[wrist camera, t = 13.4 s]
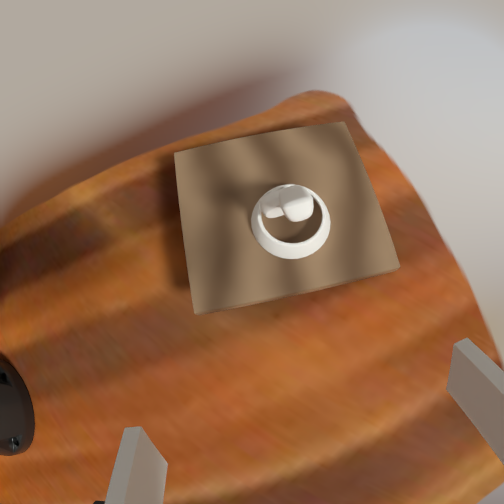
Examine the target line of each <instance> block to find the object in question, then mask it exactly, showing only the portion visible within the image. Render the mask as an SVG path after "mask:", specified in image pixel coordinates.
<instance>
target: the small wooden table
mask: <svg viewBox="0 0 504 504" xmlns="http://www.w3.org/2000/svg"><path fill="white" fill-rule="evenodd" d="M174 158H175V169H176V179H177V189H178V198H179V207H180V216H181V224H182V232H183V240H184V248H185V255H186V262H187V269H188V276H189V283H190V289H191V296H192V302H193V308H194V313H195V314H196V315H203V314H208V313H213V312H218V311H224V310H229V309H234V308H239V307H244V306H249V305H253V304H258V303H263V302H268V301H272V300H277V299H282V298H286V297H291V296H295V295H300V294H304V293H308V292H313V291H317V290H321V289H325V288H330V287H334V286H338V285H342V284H346V283H350V282H354V281H358V280H362V279H366V278H370V277H374V276H378V275H382V274H386V273H390V272H393V271H396V270H397V269H399V268H400V264H399V261H398V258H397V254H396V251H395V248H394V245H393V242H392V239H391V236H390V233H389V230H388V227H387V224H386V222H385V219H384V216H383V213H382V211H381V208H380V205H379V202H378V200H377V197H376V195H375V192H374V189H373V187H372V184H371V182H370V179H369V177H368V174H367V172H366V170H365V167H364V165H363V162H362V160H361V158H360V155H359V153H358V151H357V148H356V146H355V144H354V142H353V139H352V137H351V135H350V133H349V131H348V129H347V126H346V124H345V122H336V123H328V124H320V125H313V126H306V127H299V128H293V129H286V130H280V131H274V132H269V133H263V134H258V135H252V136H247V137H242V138H237V139H232V140H227V141H223V142H218V143H214V144H209V145H205V146H201V147H196V148H192V149H188V150H184V151H180V152H176V153H174ZM286 184H294V185H300V186H304V187H306V188H308V189H310V190H312V191H313V192H314V193H316V194H317V195H318V196H319V197H320V198H321V199H322V201H323V202H324V204H325V205H326V207H327V210H328V212H329V215H330V231H329V235H328V237H327V239H326V241H325V243H324V244H323V245H322V246H321V247H320V248H319V249H318V250H317V251H316V252H314V253H313V254H311V255H309V256H307V257H303V258H299V259H285V258H280V257H277V256H274V255H273V254H271V253H269V252H267V251H266V250H265V249H264V248H263V247H262V246H261V245H260V244H259V243H258V241H257V240H256V238H255V236H254V234H253V230H252V227H251V218H252V212H253V210H254V207H255V205H256V204H257V202H258V201H259V199H260V198H261V197H262V196H263V195H264V194H265V193H266V192H268V191H269V190H271V189H273V188H275V187H277V186H281V185H286ZM313 205H314V208H313V213H312V215H311V216H310V217H309V218H307V219H305V220H303V221H298V222H292V221H290V220H288V218H287V217H286V216H285V215H282V216H279V217H276V218H267V217H266V216H265V215H264V214H263V213H262V212H261V218H262V222H263V225H264V227H265V229H266V230H267V232H268V233H269V234H270V235H271V236H273V237H274V238H276V239H277V240H279V241H282V242H285V243H299V242H303V241H306V240H308V239H310V238H311V237H312V236H314V234H315V233H316V232H317V231H318V229H319V227H320V225H321V222H322V211H321V208H320V206H319V205H318V203H317V202H316V201H315V199H314V198H313Z"/></svg>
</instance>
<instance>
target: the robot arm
mask: <svg viewBox="0 0 504 504" xmlns="http://www.w3.org/2000/svg"><path fill="white" fill-rule="evenodd" d="M446 390H447V391H448V392H449V393H450V395H451V396H452V397H453V399H454V400H455V401H456V402H457V404H458V405H459V406H460V407H461V409H462V410H463V411H464V412H465V414H466V415H467V416H468V418H469V419H470V420H471V422H472V423H473V424H474V425H475V427H476V428H477V429H478V431H479V432H480V433H481V435H482V436H483V437H484V439H485V440H486V441H487V443H488V444H489V445H490V447H491V448H492V450H493V451H494V452H495V454H496V455H497V456H498V458H499V459H500V461H501V462H502V463H503V465H504V372H503V371H502V370H501V369H500V368H499V367H498V366H497V365H496V364H495V363H494V362H493V361H492V360H491V359H490V358H489V357H488V356H487V355H486V354H484V353H483V352H482V351H481V350H480V349H479V348H478V347H477V346H476V345H475V344H474V343H473V342H472V341H470V340H469V339H468V338H465V339H463V340H461V341H459V342H457V343H455V344H454V346H453V353H452V360H451V366H450V372H449V377H448V383H447V388H446ZM34 429H35V421H34V412H33V407H32V403H31V399H30V396H29V393H28V391H27V389H26V386H25V384H24V382H23V380H22V379H21V377H20V376H19V374H18V373H17V371H16V370H15V369H14V368H13V367H12V366H11V365H10V364H8V363H7V362H5V361H4V360H1V359H0V455H4V456H12V455H16V454H20V453H23V452H25V451H26V450H27V449H28V448H29V446H30V445H31V443H32V440H33V436H34ZM167 465H168V463H167V462H166V461H165V459H164V458H163V457H162V455H161V454H160V453H159V451H158V450H157V449H156V447H155V446H154V444H153V443H152V442H151V440H150V439H149V437H148V436H147V434H146V433H145V432H144V430H143V429H142V427H128V428H125V430H124V433H123V436H122V440H121V443H120V447H119V451H118V454H117V458H116V461H115V465H114V469H113V473H112V476H111V480H110V484H109V488H108V492H107V496H106V500H105V501H95V502H94V503H93V504H163V498H164V489H165V481H166V473H167Z"/></svg>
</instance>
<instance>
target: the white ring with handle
mask: <svg viewBox="0 0 504 504" xmlns="http://www.w3.org/2000/svg"><path fill="white" fill-rule="evenodd" d="M313 198H314V199H315V201H316V202H317V203H318V205H319V206H320V208H321V211H322V222H321V225H320V227H319V229H318V231H317V232H316V233H315V234H314V236H312V237H311V238H310V239H308V240H306V241H303V242H299V243H285V242H282V241H279V240H277V239H276V238H274V237H273V236H271V235H270V234H269V233H268V232H267V230H266V229H265V227H264V225H263V222H262V218H261V212H262V213H263V214H264V215H265V216H266V217H267V218H276V217H279V216H282V215H285V216H286V217H287V218H288V220H290V221H292V222H298V221H303V220H305V219H307V218H309V217H310V216H311V215H312V213H313V208H314V205H313ZM251 227H252V230H253V234H254V236H255V238H256V240H257V241H258V243H259V244H260V245H261V246H262V247H263V248H264V249H265V250H266V251H267V252H269V253H271V254H273V255H274V256H277V257H280V258H285V259H299V258H303V257H307V256H309V255H311V254H313V253H314V252H316V251H317V250H318V249H319V248H320V247H321V246H322V245H323V244H324V243H325V241H326V239H327V237H328V235H329V231H330V215H329V212H328V210H327V207H326V205H325V204H324V202H323V201H322V199H321V198H320V197H319V196H318V195H317V194H316V193H314V192H313V191H312V190H310V189H308V188H306V187H304V186H300V185H294V184H286V185H281V186H277V187H275V188H273V189H271V190H269V191H268V192H266V193H265V194H264V195H263V196H262V197H261V198H260V199H259V201H258V202H257V204H256V205H255V207H254V210H253V212H252V218H251Z"/></svg>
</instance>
